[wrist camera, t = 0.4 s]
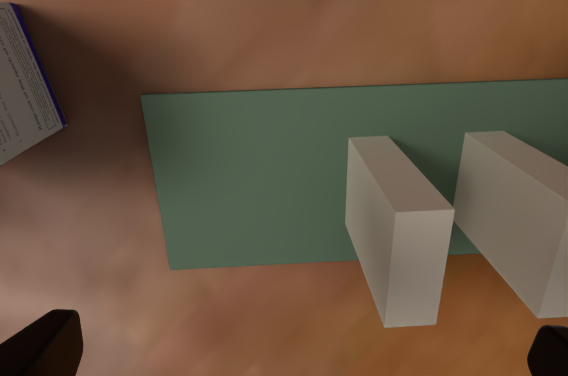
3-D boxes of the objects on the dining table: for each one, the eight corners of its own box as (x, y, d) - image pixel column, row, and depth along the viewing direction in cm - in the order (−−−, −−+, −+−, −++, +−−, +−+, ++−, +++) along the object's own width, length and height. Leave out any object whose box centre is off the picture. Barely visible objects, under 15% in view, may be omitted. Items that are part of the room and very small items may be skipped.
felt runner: (701, 238, 25) (706, 241, 25) (171, 266, 24) (170, 270, 24) (780, 69, 21) (787, 71, 21) (141, 94, 20) (140, 95, 20)
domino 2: (485, 216, 23) (587, 315, 16) (451, 218, 23) (537, 318, 16) (503, 130, 21) (629, 200, 14) (465, 132, 21) (571, 203, 14)
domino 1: (380, 221, 23) (435, 324, 16) (345, 223, 23) (384, 327, 16) (387, 135, 21) (454, 209, 14) (348, 137, 21) (395, 212, 14)
